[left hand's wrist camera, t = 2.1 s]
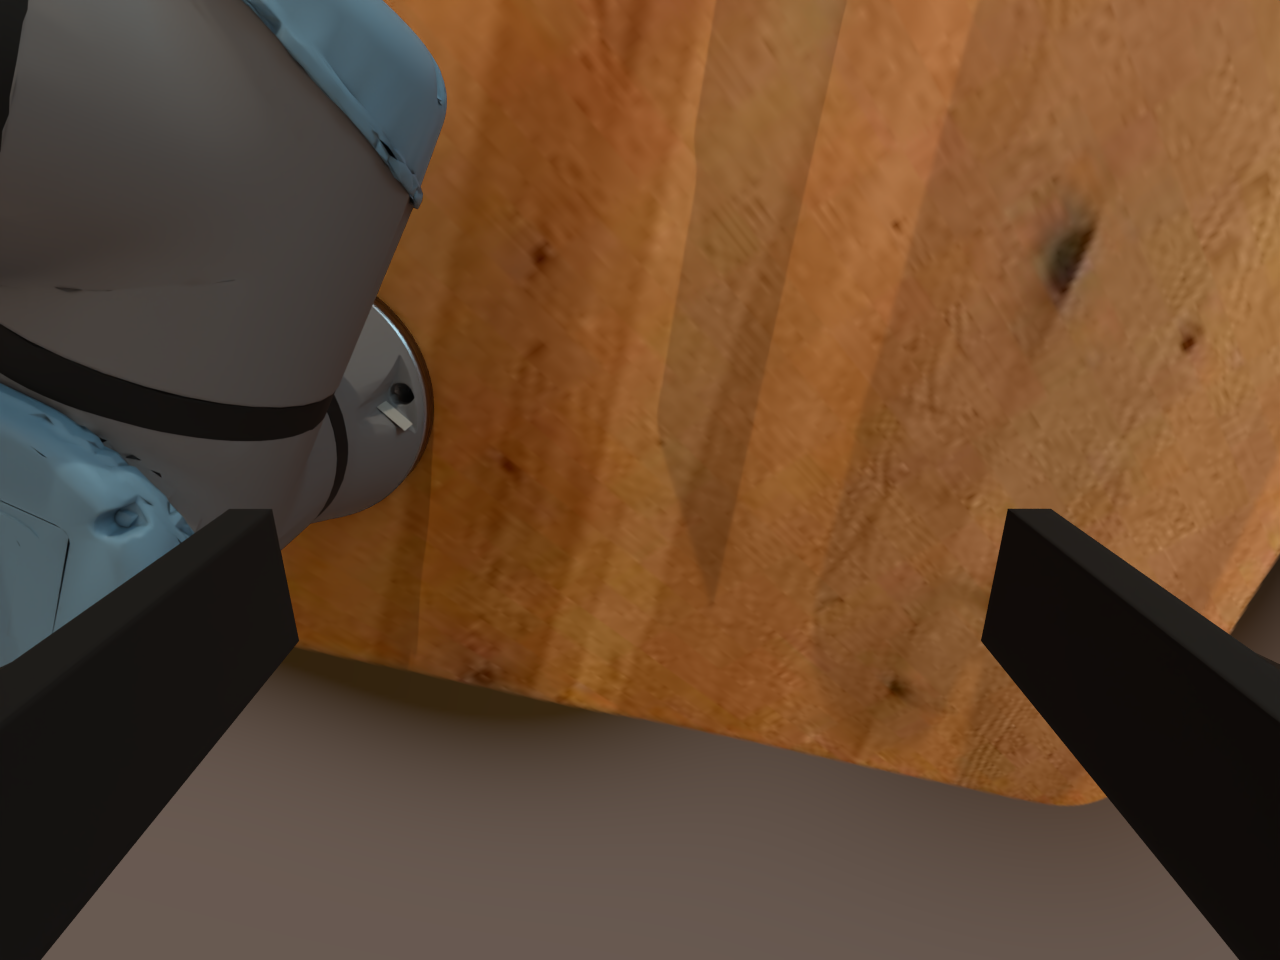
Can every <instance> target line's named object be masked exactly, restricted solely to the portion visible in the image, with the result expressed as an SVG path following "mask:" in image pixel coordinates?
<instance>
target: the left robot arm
mask: <svg viewBox="0 0 1280 960" xmlns="http://www.w3.org/2000/svg"><path fill="white" fill-rule="evenodd" d="M446 108H447V95H446V88H445V84H444V80H443V78H442V75H441V71H440V69H439V67H438V65H437V63H436V62H435V60H434V58H433V57H432V55H431V53H430V52H429V51H428V49H427V48H426V46H425V45H424V44H423V42H422V41H421V40H420V39H419V37H418V36H417V35H416V34H415V33H414V32H413V31H412V29H411V28H410V27H409V26H408V25H407V24H406V23H405V22H404V21H403V20H402V19H401V18H400V17H399V16H398V15H397V14H396V13H395V12H394V11H393V10H392V9H391V8H390V7H389V6H388V5H387V4H386V3H385V2H384V1H383V0H0V960H41V959H42V958H43V956H44V955H45V954H46V953H47V951H48V950H49V949H50V948H51V947H52V945H53V944H54V943H55V942H56V940H57V939H58V938H59V937H60V935H61V934H62V933H63V932H64V930H65V929H66V928H67V927H68V926H69V924H70V923H71V922H72V921H73V919H74V918H75V917H76V916H77V914H78V913H79V912H80V911H81V909H82V908H83V907H84V906H85V905H86V903H87V902H88V901H89V900H90V898H91V897H92V896H93V895H94V893H95V892H96V891H97V890H98V888H99V887H100V886H101V885H102V884H103V882H104V881H105V880H106V879H107V877H108V876H109V875H110V874H111V872H112V871H113V870H114V869H115V867H116V866H117V865H118V864H119V863H120V861H121V860H122V859H123V858H124V856H125V855H126V854H127V853H128V851H129V850H130V849H131V848H132V846H133V845H134V844H135V843H136V842H137V840H138V839H139V838H140V837H141V835H142V834H143V833H144V831H145V830H146V829H147V828H148V827H149V825H150V824H151V823H152V822H153V821H154V819H155V818H156V817H157V816H158V814H159V813H160V812H161V811H162V809H163V808H164V807H165V806H166V804H167V803H168V802H169V801H170V799H171V798H172V797H173V796H174V795H175V793H176V792H177V791H178V790H179V788H180V787H181V786H182V785H183V783H184V782H185V781H186V780H187V779H188V777H189V776H190V775H191V773H192V772H193V771H194V770H195V769H196V767H197V766H198V765H199V764H200V762H201V761H202V760H203V759H204V758H205V756H206V755H207V754H208V752H209V751H210V750H211V749H212V748H213V746H214V745H215V744H216V743H217V741H218V740H219V739H220V738H221V737H222V735H223V734H224V733H225V732H226V730H227V729H228V728H229V727H230V725H231V724H232V723H233V722H234V720H235V719H236V718H237V717H238V715H239V714H240V713H241V712H242V711H243V709H244V708H245V707H246V706H247V704H248V703H249V702H250V701H251V699H252V698H253V697H254V696H255V694H256V693H257V692H258V691H259V690H260V688H261V687H262V686H263V685H264V683H265V682H266V681H267V680H268V678H269V677H270V676H271V675H272V673H273V672H274V671H275V670H276V669H277V667H278V666H279V665H280V664H281V662H282V661H283V660H284V659H285V657H286V656H287V655H288V654H289V653H290V651H291V650H292V649H293V648H294V646H295V645H296V644H297V643H298V641H299V639H298V634H297V629H296V624H295V619H294V614H293V609H292V604H291V599H290V594H289V589H288V585H287V580H286V575H285V570H284V565H283V560H282V555H281V550H282V549H283V548H284V547H285V546H286V545H287V544H289V543H290V542H291V541H292V540H293V539H294V538H295V537H296V536H297V535H299V534H300V533H301V532H302V531H303V530H304V529H305V528H306V527H307V526H308V525H309V524H311V523H315V522H320V521H324V520H328V519H334V518H339V517H343V516H347V515H351V514H354V513H357V512H360V511H362V510H364V509H367V508H369V507H371V506H373V505H375V504H376V503H378V502H380V501H381V500H383V499H384V498H385V497H387V496H388V495H389V494H390V493H391V492H393V491H394V490H395V489H396V488H397V487H398V486H399V485H400V484H401V483H402V482H403V481H404V480H405V478H406V477H407V476H408V475H409V474H410V473H411V472H412V470H413V469H414V468H415V466H416V465H417V463H418V462H419V460H420V458H421V456H422V455H423V453H424V451H425V448H426V446H427V443H428V440H429V437H430V433H431V429H432V423H433V412H434V402H433V391H432V384H431V380H430V376H429V372H428V369H427V366H426V363H425V360H424V358H423V355H422V353H421V351H420V349H419V347H418V345H417V343H416V342H415V340H414V338H413V336H412V335H411V333H410V332H409V330H408V329H407V327H406V326H405V325H404V323H403V322H402V321H401V320H400V319H399V317H398V316H397V315H396V314H395V313H394V312H393V311H392V310H391V309H390V308H389V307H388V306H387V305H386V304H385V303H384V302H383V301H381V300H380V299H379V298H378V297H377V293H378V291H379V288H380V286H381V284H382V281H383V279H384V276H385V274H386V272H387V269H388V267H389V264H390V262H391V260H392V257H393V255H394V252H395V250H396V248H397V245H398V243H399V240H400V238H401V235H402V233H403V231H404V228H405V226H406V223H407V221H408V219H409V216H410V214H411V211H412V209H413V208H416V209H418V208H419V206H420V204H421V202H422V198H423V193H422V190H421V184H422V181H423V178H424V175H425V173H426V170H427V167H428V164H429V161H430V159H431V156H432V153H433V150H434V148H435V145H436V142H437V139H438V137H439V134H440V131H441V128H442V126H443V123H444V119H445V114H446ZM981 641H982V643H983V644H984V645H985V646H986V648H987V649H988V650H989V651H990V653H991V654H992V655H993V656H994V657H995V659H996V660H997V661H998V662H999V664H1000V665H1001V666H1002V667H1003V669H1004V670H1005V671H1006V672H1007V674H1008V675H1009V676H1010V677H1011V678H1012V680H1013V681H1014V682H1015V683H1016V685H1017V686H1018V687H1019V688H1020V690H1021V691H1022V692H1023V693H1024V695H1025V696H1026V697H1027V698H1028V699H1029V701H1030V702H1031V703H1032V704H1033V706H1034V707H1035V708H1036V709H1037V711H1038V712H1039V713H1040V714H1041V716H1042V717H1043V718H1044V719H1045V720H1046V722H1047V723H1048V724H1049V725H1050V727H1051V728H1052V729H1053V730H1054V732H1055V733H1056V734H1057V735H1058V737H1059V738H1060V739H1061V740H1062V741H1063V743H1064V744H1065V745H1066V746H1067V748H1068V749H1069V750H1070V751H1071V753H1072V754H1073V755H1074V756H1075V758H1076V759H1077V760H1078V761H1079V762H1080V764H1081V765H1082V766H1083V767H1084V769H1085V770H1086V771H1087V772H1088V774H1089V775H1090V776H1091V777H1092V779H1093V780H1094V781H1095V782H1096V783H1097V785H1098V786H1099V787H1100V788H1101V790H1102V791H1103V792H1104V793H1105V795H1106V796H1107V797H1108V798H1109V800H1110V801H1111V802H1112V803H1113V804H1114V806H1115V807H1116V808H1117V809H1118V811H1119V812H1120V813H1121V814H1122V816H1123V817H1124V818H1125V819H1126V820H1127V822H1128V823H1129V824H1130V825H1131V827H1132V828H1133V829H1134V830H1135V832H1136V833H1137V834H1138V835H1139V837H1140V838H1141V839H1142V840H1143V842H1144V843H1145V844H1146V845H1147V846H1148V848H1149V849H1150V850H1151V851H1152V853H1153V854H1154V855H1155V856H1156V858H1157V859H1158V860H1159V861H1160V863H1161V864H1162V865H1163V866H1164V867H1165V869H1166V870H1167V871H1168V872H1169V874H1170V875H1171V876H1172V877H1173V879H1174V880H1175V881H1176V882H1177V884H1178V885H1179V886H1180V887H1181V888H1182V890H1183V891H1184V892H1185V893H1186V895H1187V896H1188V897H1189V898H1190V900H1191V901H1192V902H1193V903H1194V904H1195V906H1196V907H1197V908H1198V909H1199V911H1200V912H1201V913H1202V914H1203V916H1204V917H1205V918H1206V919H1207V921H1208V922H1209V923H1210V924H1211V925H1212V927H1213V928H1214V929H1215V930H1216V932H1217V933H1218V934H1219V935H1220V937H1221V938H1222V939H1223V940H1224V942H1225V943H1226V944H1227V945H1228V947H1229V948H1230V949H1231V950H1232V951H1233V953H1234V954H1235V955H1236V956H1237V958H1238V959H1239V960H1280V664H1278V663H1276V662H1274V661H1272V660H1270V659H1267V658H1265V657H1263V656H1261V655H1259V654H1257V653H1255V652H1253V651H1252V650H1251V649H1249V648H1248V647H1246V646H1245V645H1243V644H1242V643H1241V642H1239V641H1238V640H1236V639H1235V638H1233V637H1232V636H1231V635H1229V634H1228V633H1226V632H1225V631H1224V630H1222V629H1221V628H1219V627H1218V626H1216V625H1215V624H1214V623H1212V622H1211V621H1209V620H1208V619H1206V618H1205V617H1204V616H1202V615H1201V614H1199V613H1198V612H1197V611H1195V610H1194V609H1192V608H1191V607H1189V606H1188V605H1187V604H1185V603H1184V602H1182V601H1181V600H1179V599H1178V598H1177V597H1175V596H1174V595H1172V594H1171V593H1170V592H1168V591H1167V590H1165V589H1164V588H1162V587H1161V586H1160V585H1158V584H1157V583H1155V582H1154V581H1153V580H1151V579H1150V578H1148V577H1147V576H1145V575H1144V574H1143V573H1141V572H1140V571H1138V570H1137V569H1135V568H1134V567H1133V566H1131V565H1130V564H1128V563H1127V562H1126V561H1124V560H1123V559H1121V558H1120V557H1118V556H1117V555H1116V554H1114V553H1113V552H1111V551H1110V550H1108V549H1107V548H1106V547H1104V546H1103V545H1101V544H1100V543H1099V542H1097V541H1096V540H1094V539H1093V538H1091V537H1090V536H1089V535H1087V534H1086V533H1084V532H1083V531H1082V530H1080V529H1079V528H1077V527H1076V526H1074V525H1073V524H1072V523H1070V522H1069V521H1067V520H1066V519H1064V518H1063V517H1062V516H1060V515H1059V514H1057V513H1056V512H1055V511H1053V510H1052V509H1008V511H1007V516H1006V520H1005V525H1004V530H1003V535H1002V540H1001V545H1000V550H999V555H998V560H997V565H996V570H995V575H994V580H993V585H992V589H991V594H990V599H989V604H988V609H987V614H986V619H985V624H984V629H983V634H982V639H981Z"/></svg>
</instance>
